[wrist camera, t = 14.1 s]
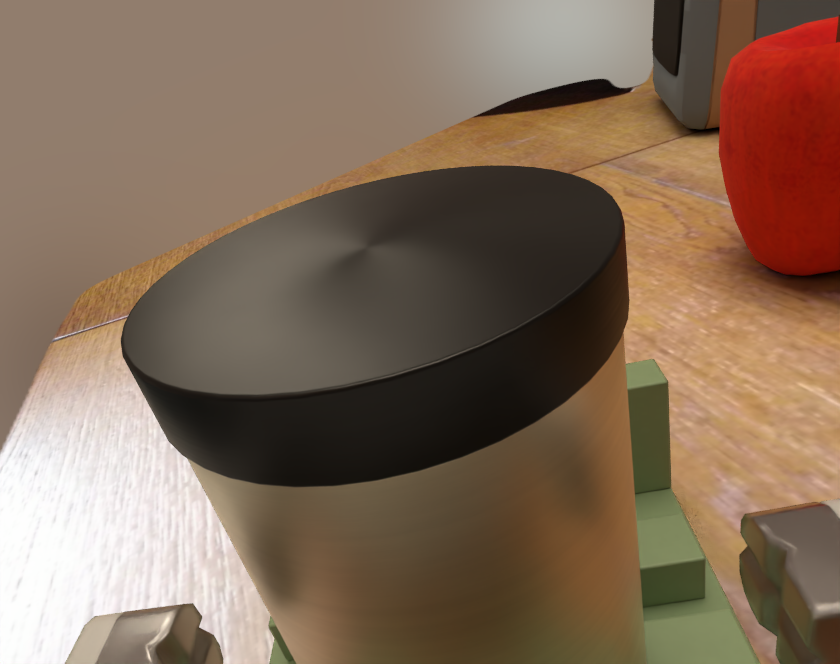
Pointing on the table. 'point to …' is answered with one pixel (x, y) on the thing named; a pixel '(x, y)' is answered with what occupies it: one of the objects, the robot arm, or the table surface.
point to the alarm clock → (715, 46)
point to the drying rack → (661, 549)
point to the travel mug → (415, 416)
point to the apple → (785, 147)
